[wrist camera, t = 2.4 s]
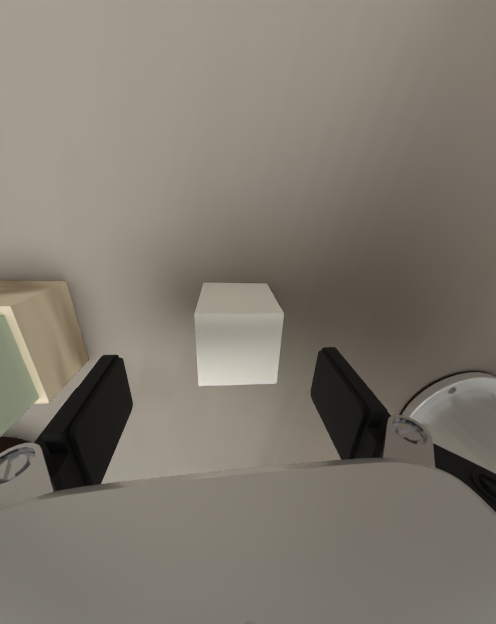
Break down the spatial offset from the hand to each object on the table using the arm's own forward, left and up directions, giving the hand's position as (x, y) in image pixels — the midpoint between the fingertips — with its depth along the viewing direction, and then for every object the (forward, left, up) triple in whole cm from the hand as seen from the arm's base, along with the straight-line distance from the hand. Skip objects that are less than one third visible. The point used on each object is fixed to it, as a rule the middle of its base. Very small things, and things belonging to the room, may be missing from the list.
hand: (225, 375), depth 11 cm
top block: (-1, 0, -9) cm, 9 cm away
